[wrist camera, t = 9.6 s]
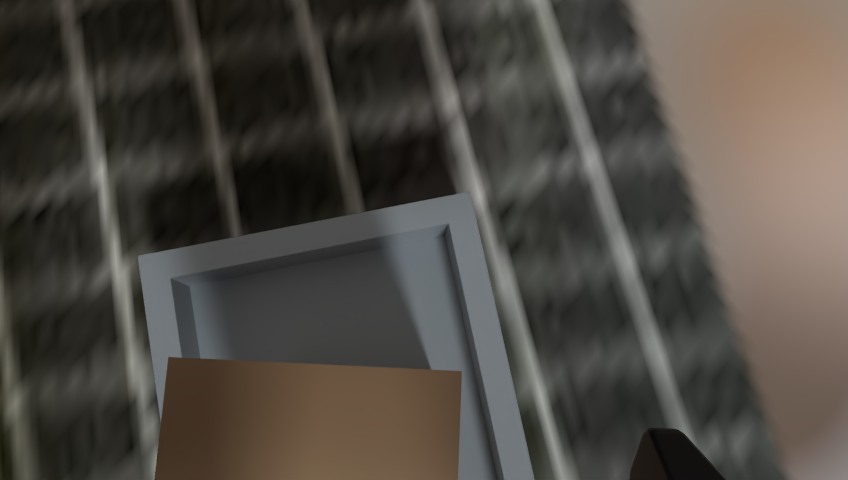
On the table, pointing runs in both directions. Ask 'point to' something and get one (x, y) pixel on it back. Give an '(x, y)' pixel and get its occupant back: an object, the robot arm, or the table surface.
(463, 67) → the table surface
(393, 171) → the table surface
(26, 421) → the table surface
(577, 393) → the table surface
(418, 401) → the block
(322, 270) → the tray
